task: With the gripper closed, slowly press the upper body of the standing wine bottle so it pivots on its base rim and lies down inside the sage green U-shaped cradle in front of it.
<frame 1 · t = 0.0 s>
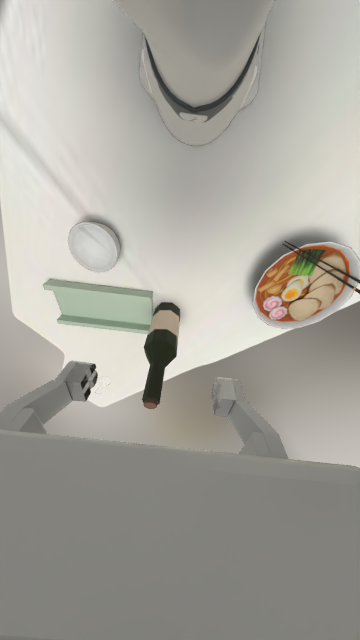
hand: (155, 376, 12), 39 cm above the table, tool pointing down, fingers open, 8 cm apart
wine bottle: (167, 312, 57), on the table
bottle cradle: (105, 305, 56), on the table
ramen bowl: (289, 278, 48), on the table
ramekin: (102, 243, 45), on the table
spoon: (102, 385, 86), on the table
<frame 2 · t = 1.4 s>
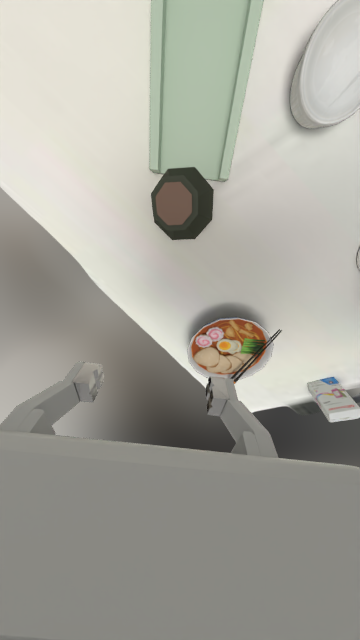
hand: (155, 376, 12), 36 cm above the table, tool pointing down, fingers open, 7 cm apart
wine bottle: (185, 207, 37), on the table
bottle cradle: (202, 48, 26), on the table
ramen bowl: (224, 336, 54), on the table
ink box: (320, 383, 63), on the table
ramekin: (320, 87, 28), on the table
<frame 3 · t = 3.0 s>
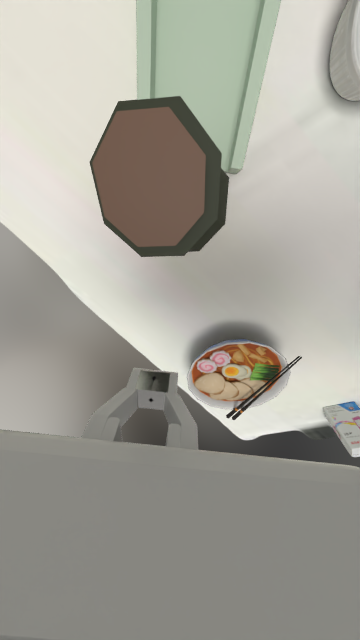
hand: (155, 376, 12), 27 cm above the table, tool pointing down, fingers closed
wine bottle: (186, 206, 29), on the table
ramen bowl: (230, 357, 47), on the table
ink box: (338, 407, 55), on the table
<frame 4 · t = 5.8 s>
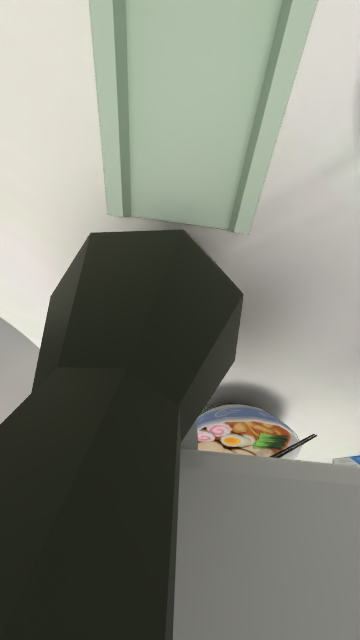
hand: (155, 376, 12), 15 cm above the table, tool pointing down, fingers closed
wine bottle: (175, 266, 23), on the table, touching gripper
ramen bowl: (230, 414, 41), on the table
ink box: (349, 459, 50), on the table
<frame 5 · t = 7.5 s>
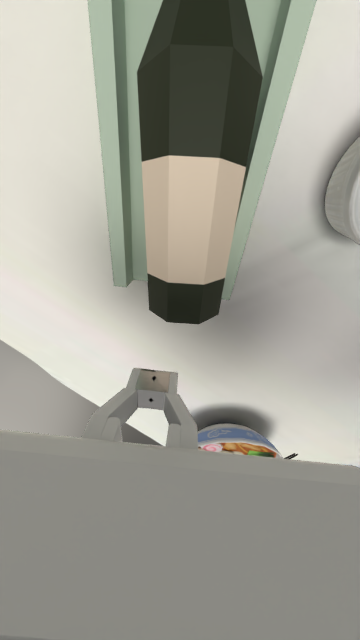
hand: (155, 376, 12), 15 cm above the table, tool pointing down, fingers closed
wine bottle: (184, 306, 21), point 4 cm above the table, touching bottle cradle
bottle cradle: (189, 127, 16), on the table
ramen bowl: (223, 430, 44), on the table
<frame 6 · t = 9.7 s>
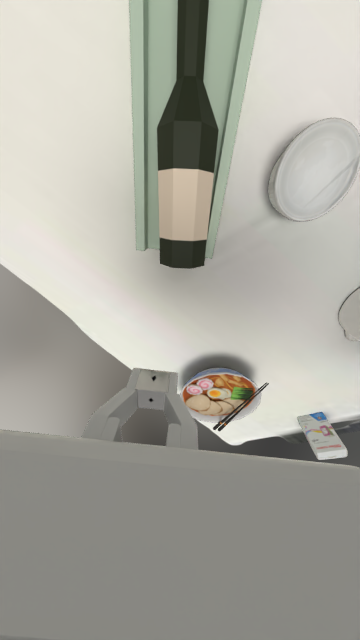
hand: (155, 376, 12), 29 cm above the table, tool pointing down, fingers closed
wine bottle: (182, 263, 32), point 4 cm above the table, touching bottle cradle
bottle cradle: (183, 149, 27), on the table
ramen bowl: (215, 379, 56), on the table
ink box: (309, 416, 65), on the table
ramekin: (296, 181, 29), on the table
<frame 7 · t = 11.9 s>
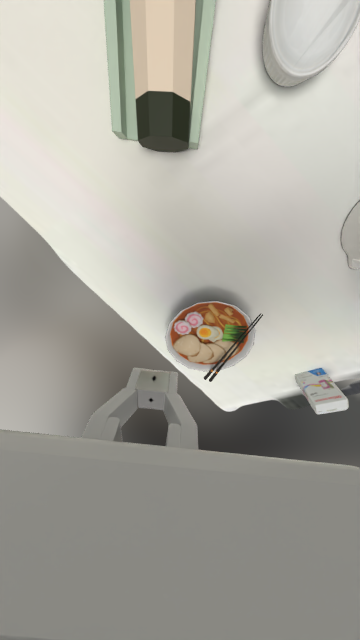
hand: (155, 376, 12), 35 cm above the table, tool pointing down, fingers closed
wine bottle: (164, 146, 28), point 4 cm above the table, touching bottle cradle
ramen bowl: (206, 324, 52), on the table
ink box: (308, 374, 61), on the table
ramekin: (295, 38, 25), on the table
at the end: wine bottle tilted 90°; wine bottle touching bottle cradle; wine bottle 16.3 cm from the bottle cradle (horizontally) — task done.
